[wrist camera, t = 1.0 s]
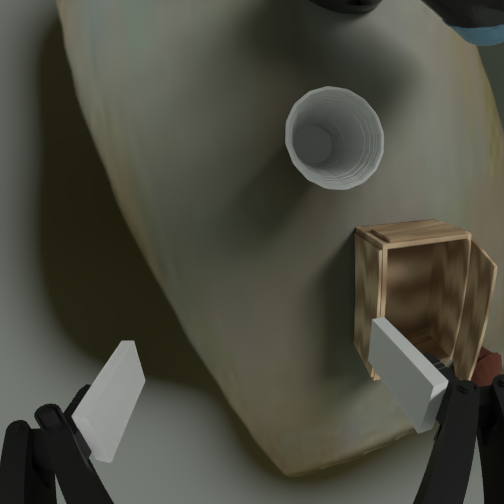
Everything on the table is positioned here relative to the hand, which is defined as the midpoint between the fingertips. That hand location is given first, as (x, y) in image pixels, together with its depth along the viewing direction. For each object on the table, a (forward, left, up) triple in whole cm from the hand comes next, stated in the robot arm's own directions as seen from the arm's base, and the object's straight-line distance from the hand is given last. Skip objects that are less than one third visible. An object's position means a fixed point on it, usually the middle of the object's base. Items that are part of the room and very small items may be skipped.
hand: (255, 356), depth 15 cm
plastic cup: (-15, 0, -28) cm, 32 cm away
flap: (-10, +29, -18) cm, 35 cm away
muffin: (-1, +53, -28) cm, 60 cm away
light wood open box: (-5, +23, -28) cm, 37 cm away
